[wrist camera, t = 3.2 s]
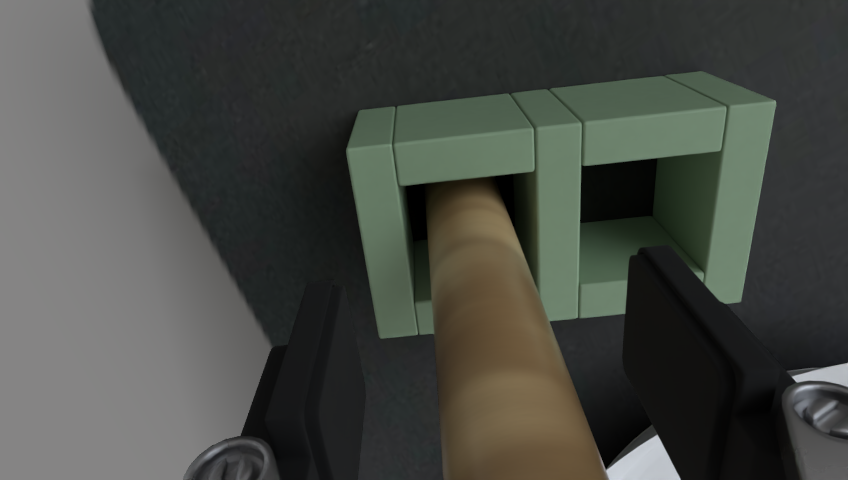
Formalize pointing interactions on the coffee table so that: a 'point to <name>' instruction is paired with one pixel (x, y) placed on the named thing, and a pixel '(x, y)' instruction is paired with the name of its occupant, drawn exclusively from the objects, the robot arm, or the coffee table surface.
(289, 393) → the robot arm
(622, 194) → the coffee table surface
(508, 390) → the stick
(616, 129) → the holder
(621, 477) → the white plate
